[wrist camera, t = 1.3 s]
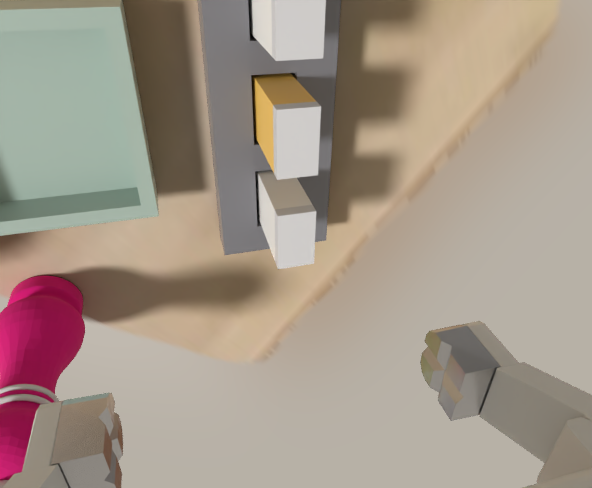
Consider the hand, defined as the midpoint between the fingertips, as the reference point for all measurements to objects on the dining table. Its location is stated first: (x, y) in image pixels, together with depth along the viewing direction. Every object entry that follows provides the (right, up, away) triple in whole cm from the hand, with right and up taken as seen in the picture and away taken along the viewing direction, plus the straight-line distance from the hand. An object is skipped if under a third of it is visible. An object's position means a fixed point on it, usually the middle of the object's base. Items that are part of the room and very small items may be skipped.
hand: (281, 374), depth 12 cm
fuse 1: (-2, +22, +23) cm, 32 cm away
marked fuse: (-2, +16, +28) cm, 32 cm away
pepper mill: (-24, -2, +33) cm, 41 cm away
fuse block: (-2, +16, +27) cm, 32 cm away
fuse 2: (-2, +9, +32) cm, 34 cm away
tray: (-19, +13, +23) cm, 33 cm away
